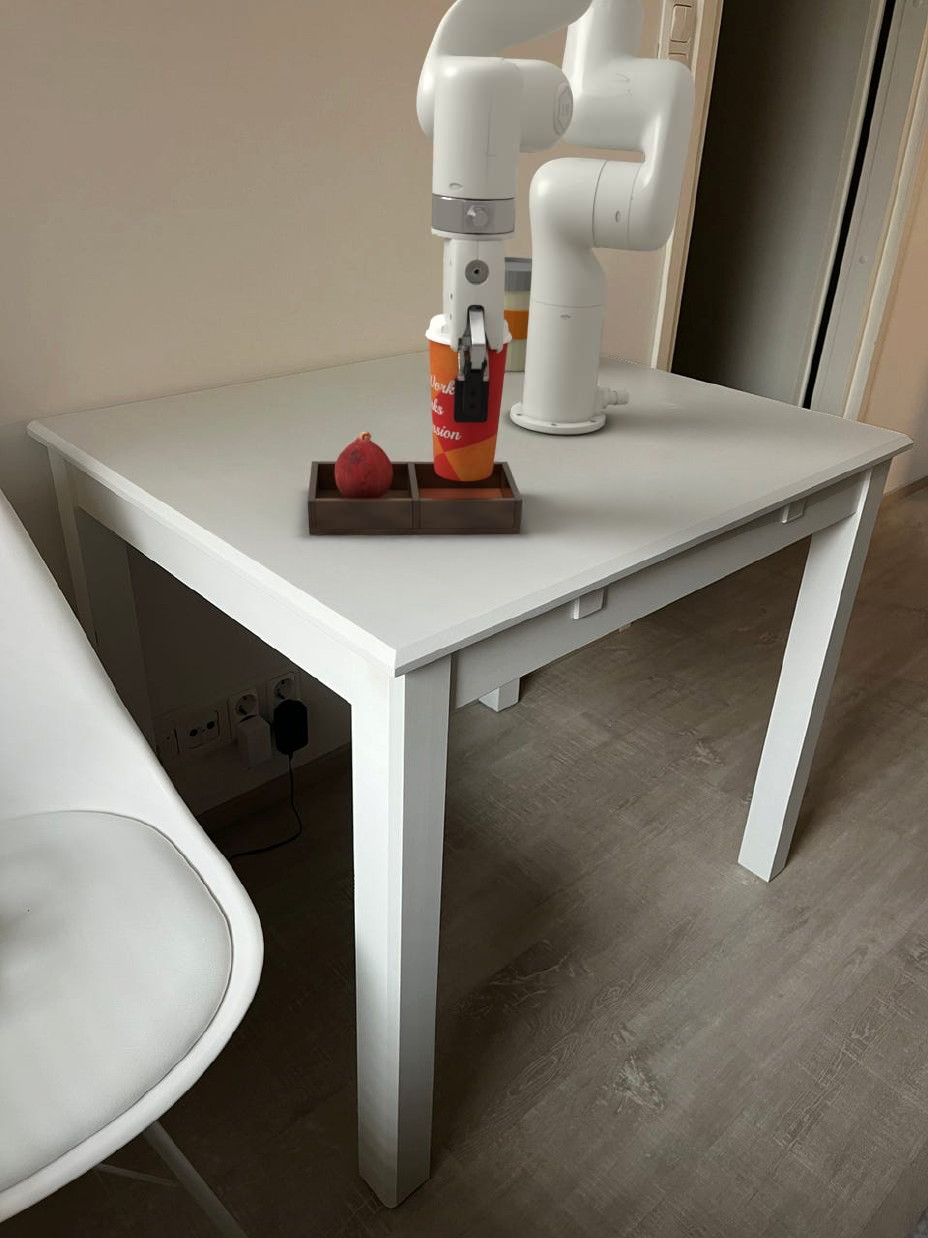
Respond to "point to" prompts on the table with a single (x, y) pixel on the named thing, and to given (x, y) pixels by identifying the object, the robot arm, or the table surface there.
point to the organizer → (416, 503)
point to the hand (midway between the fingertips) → (465, 406)
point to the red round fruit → (363, 469)
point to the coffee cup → (454, 443)
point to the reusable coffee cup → (517, 309)
